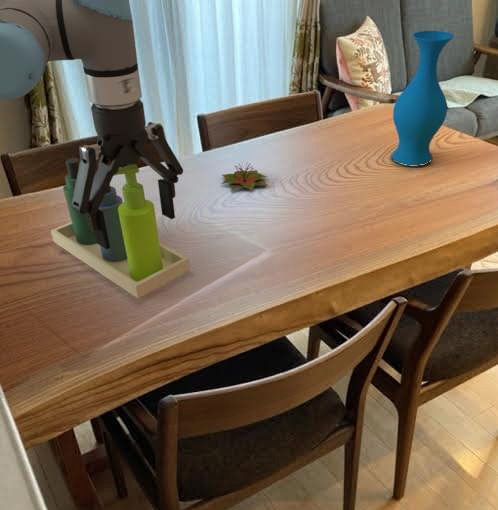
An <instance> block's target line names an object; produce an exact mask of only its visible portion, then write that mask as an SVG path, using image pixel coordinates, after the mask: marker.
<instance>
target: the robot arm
mask: <svg viewBox="0 0 498 510" xmlns="http://www.w3.org/2000/svg"><path fill="white" fill-rule="evenodd" d="M75 60H80V61H81V63H82V69H83V73H84V80H85V85H86V90H87V95H88V100H89V102H90V103H91V107H90V111H91V115H92V120H93V121H92V122H93V126H94V130H95V132H96V135H97V141H96V143H95V144H90V145H87V144H85V143H81V144H80V145H79V147H78V150H79V151H78V152H79V161H80V164H79V169H78V174H77V179H76V184H75V189H74V194H73V199H72V204H71V207H72V208H73V209H74V210H76V211H77V212H79V213H81V214H85V213H86V218H87V222H88V227H89V228H90V229H91V230H93V231H94V232H95V237H96V241H97V244H99V245H100V246H102V247H103V248H105V249H108V248H110V244H109V239H108V234H107V229H106V224H105V219H104V214H103V211H101V210H99V207H100V205H101V202H102V200H103V198H104V196H105V193H106V191H107V189H108V187H109V184H110V185H111V183H112V180H113V177H114V176H113V175H114V174H116V173H117V172H118V169H119V167H122V168H123V167H125V166H127V165H131V164H136V163H139V160H141V161H143V162H144V163H145V164H146V165H147V166H148V167H149V168H151V169H152V170H153V171H154V172H155V173H157V175H158V176H159V177H161V178H159V179H157V186H158V192H159V193H158V194H159V201H160V208H161V215H163V216H164V217H166V218H168V219H170V220H173V219H176V214H175V203H174V198H176V187H175V186H176V185H175V184H177V183H178V182H179V176H181V175H183V173H184V168H183V167H182V165H181V163H180V162H179V160H178V158H177V156H176V155H175V153H174V151H173V150H172V147H171V146H170V145H169V143H168V141H167V140H166V138H165V133H164V128H163V126H162V125H160V124H157V123H155V122H153V121H149V122H147V123H146V114H145V108H144V103H143V101H142V100H141V99H142V97H143V93H142V86H141V79H140V72H139V71H140V70H139V64H138V55H137V47H136V38H135V30H134V21H133V13H132V10H131V4H130V0H0V100H7V101H8V100H9V101H10V100H17V99H20V98H22V97H24V96H26V95H27V94H28V93H30V92H31V91H32V90H33V89H34V88H35V87H36V86H37V85H38V84H39V83H40V81H41V79H42V77H43V76H44V74H45V69H46V66H47V65H48V63H49V62H56V61H75ZM146 125H147V126H146ZM148 139H149V140H150V141H151V144H153V146H154V148H155V149H156V151H157V152H158V154H159V156H160V157H161V160H163V163H164V164H165V165H164V164H163V163H162V162H161V161H160V160H158V159H157V157H155V156H154V154H153V153H152V152H150V150H149V149H147V148H146V144H147V142H148ZM100 154H101V156H100V157H99V155H100ZM98 160H99V161H98ZM97 161H98V163H97ZM109 163H110V165H109ZM97 166H98V168H97ZM96 169H97V170H96ZM95 173H96V175H95ZM94 175H95V177H94Z"/></svg>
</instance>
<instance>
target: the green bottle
mask: <svg viewBox="0 0 498 510" xmlns="http://www.w3.org/2000/svg"><path fill="white" fill-rule="evenodd" d="M79 164H80V158H78V157H70V158H67V159H66V160H65V165H66V169H67V173H68V174H66V175H65V177H64V180H65V185H63V188H62V190H63V194H64V197H65V202H66V206H67V209H68V212H69V217H70V220H71V221H70V222H72V225H73V229H74V232H75V236H76V240H77V242H78V243H79V244H82V245H93V244H96V243H97V241H96V237H95V232H94V231H93V230H91V229H90V228H89V227H88V222H87V218H86V213H85V214H81V213H79V212H77V211H76V210H74V209H73V208H72V207H71V204H72V199H73V194H74V189H75V184H76V179H77V174H78V169H79Z"/></svg>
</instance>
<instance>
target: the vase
mask: <svg viewBox="0 0 498 510" xmlns="http://www.w3.org/2000/svg"><path fill="white" fill-rule="evenodd" d="M454 37H455V36H454V34H452V33H450V32H446V31H441V30H440V31H439V30H422V31H418V32H415V33H413V34H412V38H413V39H414V40H415V41H416V44H417V46H418V49H419V63H418V67H417V70H416V73H415V75H414V77H413V78H412V80H411V81H410V82H409V84H408V85H407V86H406V87H405V89H404V90H402V92H401V93H400V94H399V95H398V97H397V99H396V101H395V103H394V106H393V111H392V117H393V124H394V126H395V129H396V133H397V135H398V136H397V137H398V144H397V148H396V149H395V150H394V151H393V153H392V154H391V156H392V157H391V159H392V158H393V159H394V160H395V161H397V162H399V163H397V162H395V161H394V160H393V159H392V160H393V161H394V162H395V163H396V164H398V165H401V166H405V167H411V168H412V167H413V168H415V167H416V168H417V167H419V166H409V165H420V164H425V163H427V162H429V161H430V160H432V161H433V155H432V153H431V151H430V146H431V142H432V140H433V138H434V137H435V136H436V134H437V133H438V131H439V130H441V127H442V126H443V124H444V122H445V120H446V118H447V114H448V103H447V99H446V96H445V94H444V92H443V90H442V87H441V86H440V83H439V80H438V74H437V67H438V62H439V57H440V55H441V52H442V50H443V49H444V48H445V46H446V45H447V44H448V43H450V41H451V40H452V39H454ZM400 163H403V164H407V165H403V164H400ZM429 164H430V163H428V164H426V165H421V166H420V167H424V166H427V165H429Z"/></svg>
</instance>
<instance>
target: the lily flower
mask: <svg viewBox="0 0 498 510" xmlns="http://www.w3.org/2000/svg"><path fill="white" fill-rule="evenodd" d="M243 163H244V162H241V164H242V165H244V164H243ZM237 164H238V166H239V167H238V166H237V165H234V167H235V169H236V171H234V172H233V173H226V174H221V176H222V177H223V178H224V180H223V182H221V183H220V185H225V184H230V185H229V187H230V191H231V192H234V191H236V190H240V189H242V188H246V189H248V190H250V191H251V192H253V190H254V187H256V186H269V184H268V183H267V182H266V181H265V180H263V178H264V179H265V178H267V176H266V175H264V174H262V173H260V172H259V171H258V169H254V166H253V165H252V166H251V163H249V164H248V162H246V164H245V166H246V167H245V168H243V167H242V165H241V164H240V163H237ZM244 169H245V170H244ZM249 169H250V170H249Z"/></svg>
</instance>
